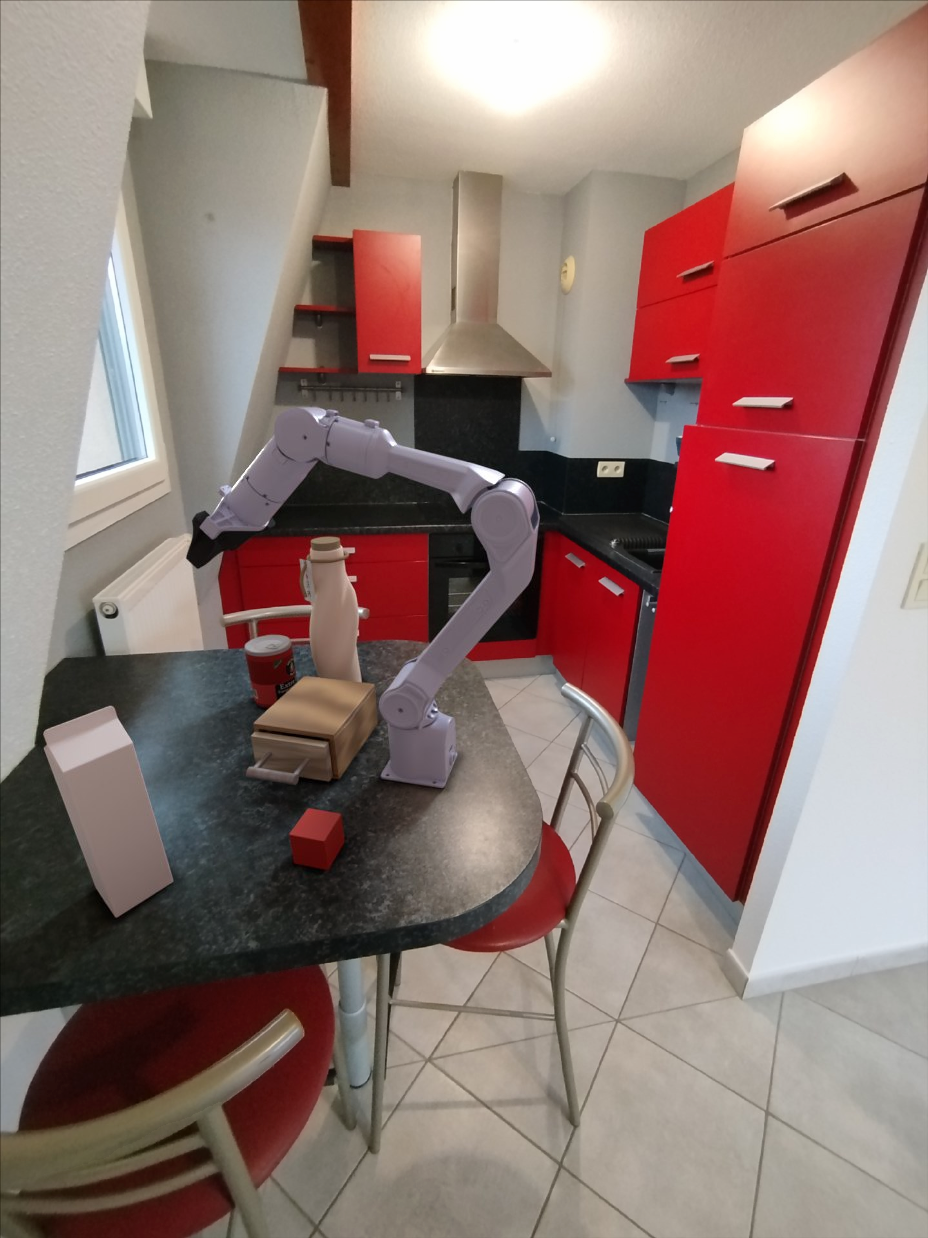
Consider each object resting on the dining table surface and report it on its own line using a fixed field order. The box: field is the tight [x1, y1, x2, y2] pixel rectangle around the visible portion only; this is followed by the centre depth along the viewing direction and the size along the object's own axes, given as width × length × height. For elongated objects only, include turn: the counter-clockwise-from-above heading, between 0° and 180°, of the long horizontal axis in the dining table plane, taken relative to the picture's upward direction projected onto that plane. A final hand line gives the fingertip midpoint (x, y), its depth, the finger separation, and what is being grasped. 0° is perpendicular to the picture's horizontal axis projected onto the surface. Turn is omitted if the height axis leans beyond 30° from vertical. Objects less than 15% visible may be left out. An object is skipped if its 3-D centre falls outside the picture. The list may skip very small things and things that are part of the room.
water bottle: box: [299, 536, 363, 683], centre depth 96 cm, size 10×9×28 cm
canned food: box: [244, 634, 298, 709], centre depth 95 cm, size 8×8×11 cm
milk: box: [42, 705, 174, 919], centre depth 55 cm, size 6×6×22 cm
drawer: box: [245, 730, 333, 786], centre depth 78 cm, size 18×11×6 cm, turn 166°
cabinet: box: [252, 675, 379, 780], centre depth 82 cm, size 15×13×8 cm
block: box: [288, 807, 345, 871], centre depth 63 cm, size 4×4×4 cm
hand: (211, 553), depth 72 cm, fingers open, 7 cm apart
